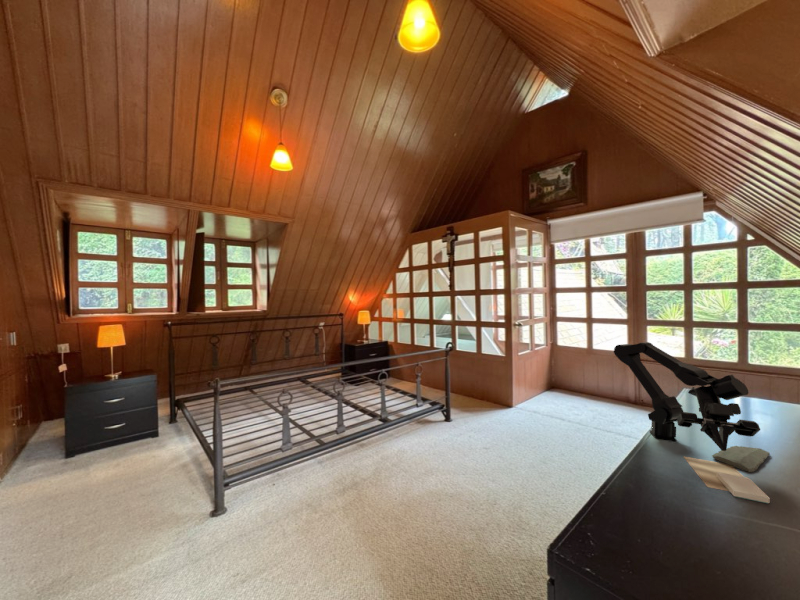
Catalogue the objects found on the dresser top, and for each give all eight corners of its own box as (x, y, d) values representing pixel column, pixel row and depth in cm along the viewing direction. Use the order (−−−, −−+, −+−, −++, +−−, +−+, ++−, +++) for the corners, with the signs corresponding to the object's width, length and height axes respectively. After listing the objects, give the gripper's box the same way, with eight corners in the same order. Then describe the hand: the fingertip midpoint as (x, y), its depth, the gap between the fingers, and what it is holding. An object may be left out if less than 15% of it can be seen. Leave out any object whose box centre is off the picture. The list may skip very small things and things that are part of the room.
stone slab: (710, 462, 106) (753, 473, 98) (709, 453, 106) (752, 464, 98) (733, 448, 117) (774, 456, 109) (732, 440, 117) (773, 448, 109)
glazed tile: (716, 471, 96) (734, 490, 87) (748, 477, 93) (769, 498, 84) (716, 477, 96) (733, 496, 87) (747, 483, 93) (769, 504, 84)
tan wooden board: (683, 457, 108) (683, 456, 108) (731, 466, 103) (731, 464, 103) (707, 488, 92) (707, 486, 92) (766, 500, 86) (766, 498, 86)
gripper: (681, 388, 107) (693, 434, 97) (758, 396, 99) (779, 447, 89) (672, 403, 114) (682, 447, 105) (743, 412, 106) (761, 460, 97)
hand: (724, 450), depth 99 cm, fingers closed
